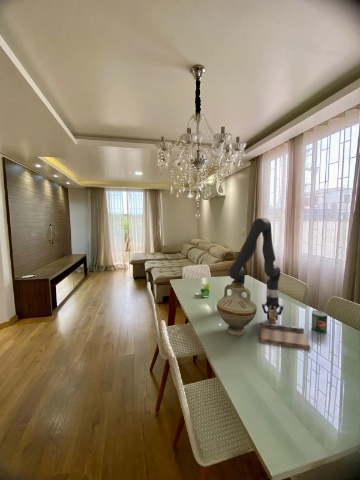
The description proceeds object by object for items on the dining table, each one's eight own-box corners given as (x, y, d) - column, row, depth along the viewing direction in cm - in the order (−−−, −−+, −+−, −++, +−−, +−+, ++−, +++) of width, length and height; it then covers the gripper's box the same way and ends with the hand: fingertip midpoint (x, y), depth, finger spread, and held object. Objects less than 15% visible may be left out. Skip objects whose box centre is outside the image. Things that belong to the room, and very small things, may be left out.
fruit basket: (200, 293, 200) (200, 282, 199) (209, 293, 199) (209, 282, 198) (201, 298, 188) (201, 286, 187) (211, 298, 188) (210, 285, 187)
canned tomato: (323, 335, 123) (323, 317, 122) (308, 329, 130) (309, 312, 129) (329, 331, 127) (329, 313, 126) (315, 325, 134) (315, 309, 133)
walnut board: (260, 341, 118) (260, 334, 118) (260, 328, 133) (260, 321, 133) (309, 349, 110) (309, 341, 110) (302, 333, 125) (303, 327, 125)
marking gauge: (269, 327, 134) (269, 316, 134) (268, 318, 145) (268, 309, 145) (276, 328, 133) (276, 317, 132) (275, 319, 144) (275, 309, 144)
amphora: (262, 341, 120) (266, 289, 119) (223, 342, 116) (226, 289, 115) (243, 324, 143) (246, 280, 143) (210, 324, 139) (212, 279, 139)
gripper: (261, 296, 139) (261, 320, 141) (284, 298, 134) (284, 323, 136) (260, 292, 146) (260, 316, 148) (283, 294, 142) (283, 318, 143)
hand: (272, 319), depth 142 cm, fingers closed on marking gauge, 4 cm apart
